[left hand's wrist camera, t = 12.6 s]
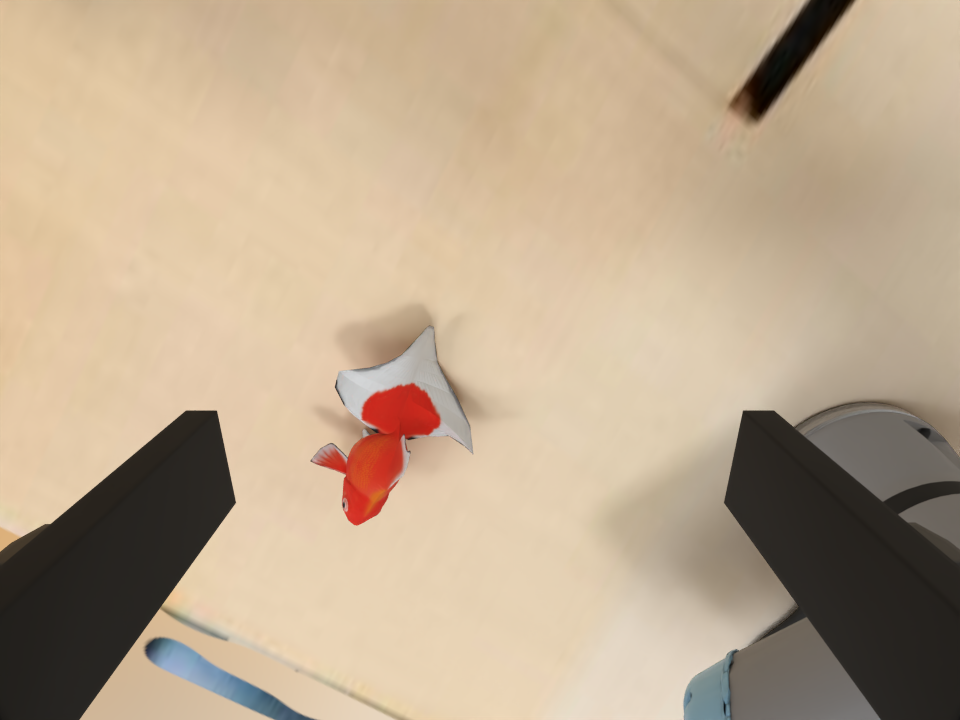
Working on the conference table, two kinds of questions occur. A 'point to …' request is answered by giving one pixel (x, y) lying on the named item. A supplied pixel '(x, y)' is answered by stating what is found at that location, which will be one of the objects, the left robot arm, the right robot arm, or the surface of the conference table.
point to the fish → (392, 423)
